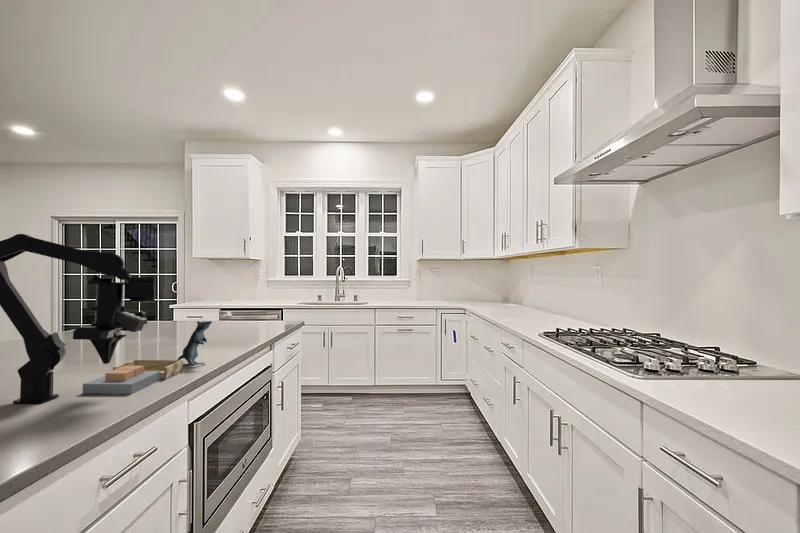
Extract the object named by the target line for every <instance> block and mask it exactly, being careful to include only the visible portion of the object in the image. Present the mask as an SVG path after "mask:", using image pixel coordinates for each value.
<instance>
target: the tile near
mask: <svg viewBox="0 0 800 533" xmlns="http://www.w3.org/2000/svg"><path fill="white" fill-rule="evenodd" d="M104 374H105V375H104V376H105V381H126V380H129V379H131V378H133V377H135V370H117V369H116V370H113V369H112V370H110V371H108V372H105V373H104Z"/></svg>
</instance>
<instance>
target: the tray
mask: <svg viewBox="0 0 800 533" xmlns="http://www.w3.org/2000/svg"><path fill="white" fill-rule="evenodd" d="M183 364H184V360H183V359H181V360H177V359H133V360H129V361H126V362H124V363H121V364H119V365H116V366H113V367H112V371H113V370H116V369H119V368H121V367H124V366H145V371H160V380H161V381H163V380H164V381H166V380H168V379H170V378H172V377H173V376H174V377H175V376H176V375H178V374H180V373H182V372H183V366H184V365H183ZM160 380H159V381H160Z"/></svg>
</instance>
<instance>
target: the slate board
mask: <svg viewBox="0 0 800 533" xmlns="http://www.w3.org/2000/svg"><path fill="white" fill-rule="evenodd" d="M159 381H160V371H144V373H143V374H140V375H138V376H136V377H133V378H131V379H129V380H126V381H105V375H103V376H101V377H98V378H95V379H93V380H90V381H88V382H84V383H82V394H83V395H88V394H87V393H92V394H91V395H94V394H93V393H101V394H100V395H133V394H134V393H137V392H139V391H141V390H142V389H144V388H146V387H149V386H150V385H152V384H155V383H156V382H159ZM85 393H86V394H85ZM102 393H103V394H102ZM104 393H105V394H104Z"/></svg>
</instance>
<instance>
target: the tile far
mask: <svg viewBox="0 0 800 533" xmlns="http://www.w3.org/2000/svg"><path fill="white" fill-rule="evenodd" d="M117 370H135V377H136V376H138V375H140V374H143V373H144V371H145V366H124V367H121V368H119V369H117Z"/></svg>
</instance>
